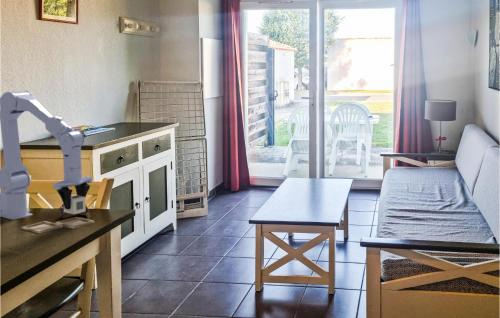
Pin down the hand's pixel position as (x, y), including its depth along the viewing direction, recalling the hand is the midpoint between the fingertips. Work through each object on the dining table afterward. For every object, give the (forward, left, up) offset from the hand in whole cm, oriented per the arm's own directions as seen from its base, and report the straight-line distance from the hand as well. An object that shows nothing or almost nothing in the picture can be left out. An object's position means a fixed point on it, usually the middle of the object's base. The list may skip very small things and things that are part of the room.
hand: (74, 207), depth 210 cm
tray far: (0, 0, -6) cm, 6 cm away
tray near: (-4, -10, -6) cm, 12 cm away
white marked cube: (0, 0, -2) cm, 2 cm away
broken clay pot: (-7, +6, -6) cm, 11 cm away
